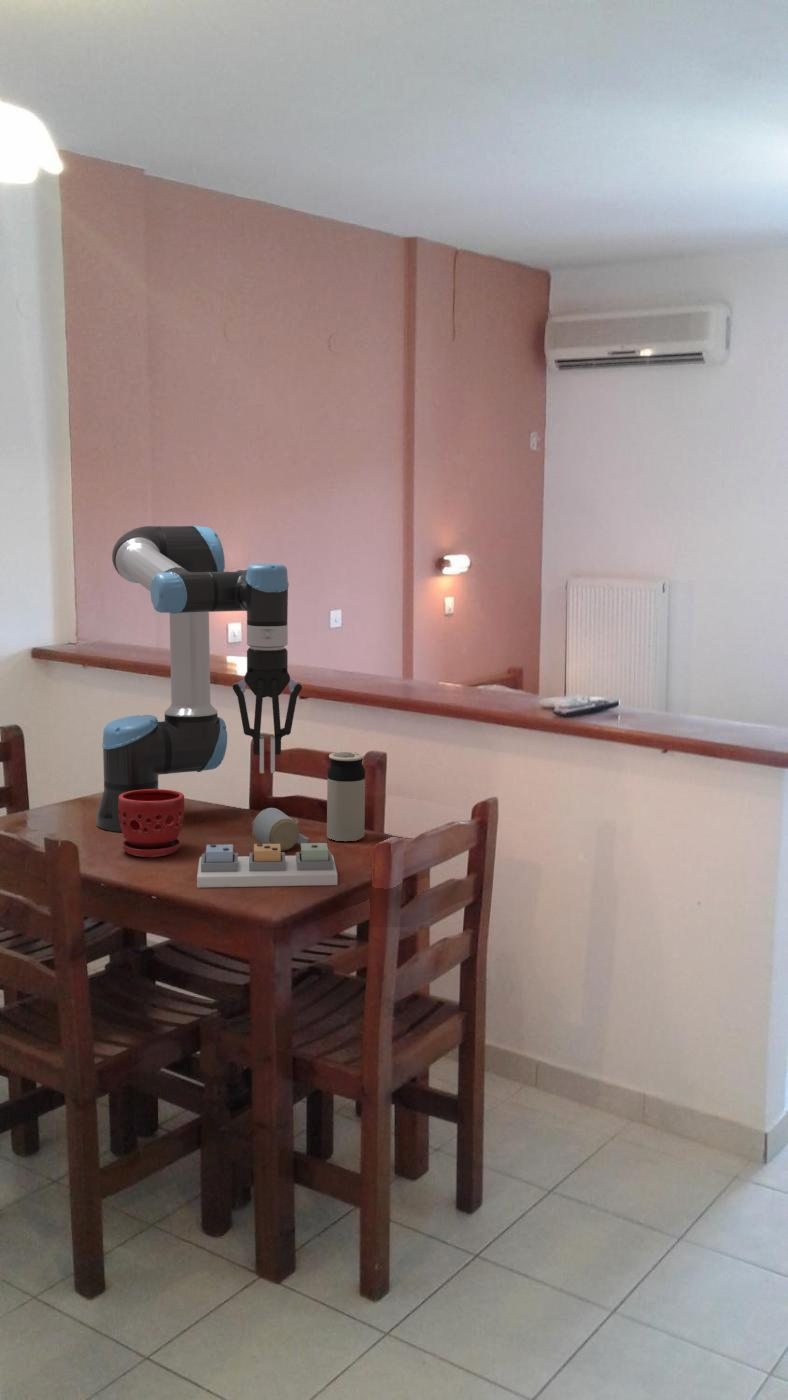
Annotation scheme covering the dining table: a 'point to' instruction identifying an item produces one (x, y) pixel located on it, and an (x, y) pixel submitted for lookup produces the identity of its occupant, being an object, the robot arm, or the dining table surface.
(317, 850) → the one dot tile
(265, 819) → the ceramic mug
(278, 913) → the dining table surface
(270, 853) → the three dot tile
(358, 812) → the travel mug
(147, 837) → the plant pot
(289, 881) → the tile board
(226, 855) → the two dot tile
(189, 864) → the dining table surface
